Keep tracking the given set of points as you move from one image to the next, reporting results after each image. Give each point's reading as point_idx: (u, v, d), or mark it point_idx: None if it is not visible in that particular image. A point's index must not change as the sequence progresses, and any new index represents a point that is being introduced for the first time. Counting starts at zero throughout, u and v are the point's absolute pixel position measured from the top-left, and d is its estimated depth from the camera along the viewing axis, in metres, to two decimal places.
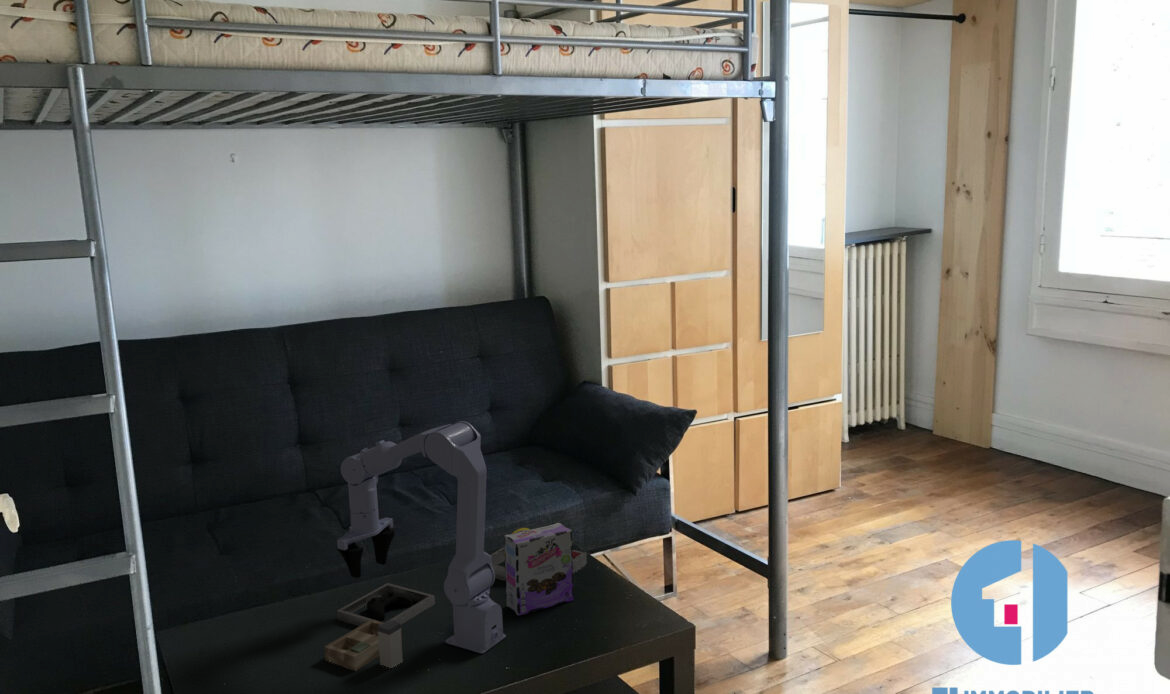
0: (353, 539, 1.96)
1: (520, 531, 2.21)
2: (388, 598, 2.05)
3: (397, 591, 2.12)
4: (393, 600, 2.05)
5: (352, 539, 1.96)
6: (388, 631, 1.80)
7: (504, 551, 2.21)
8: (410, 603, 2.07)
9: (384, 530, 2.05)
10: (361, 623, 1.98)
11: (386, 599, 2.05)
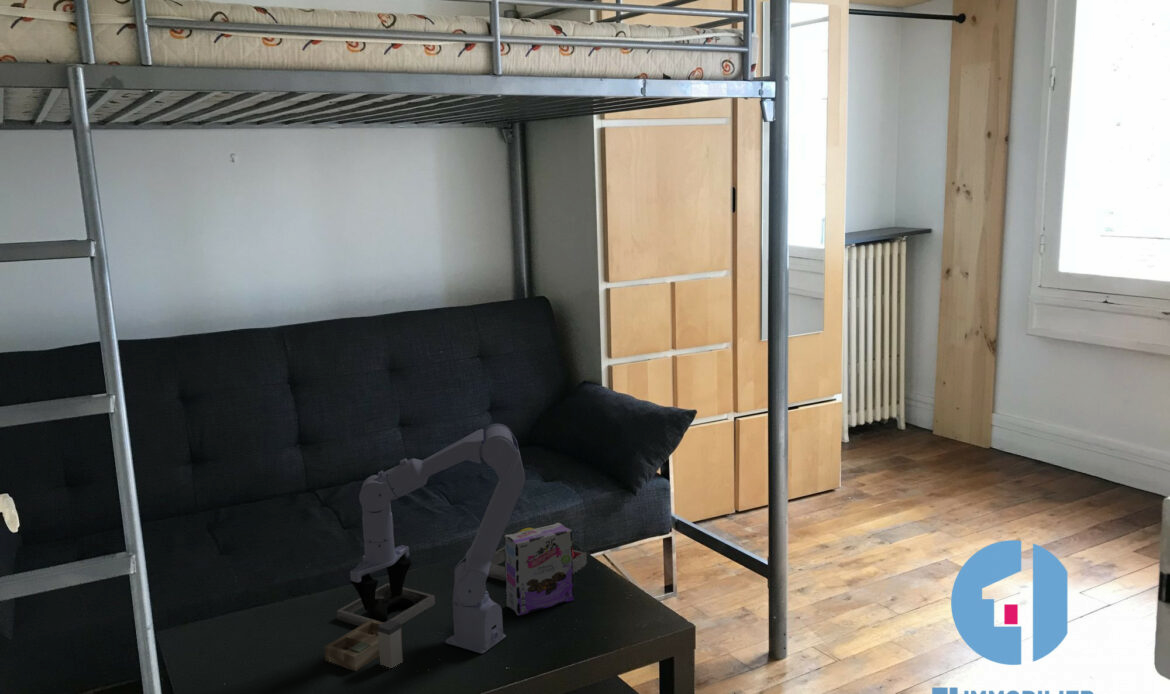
0: (367, 570, 1.82)
1: None
2: (391, 599, 2.05)
3: None
4: (396, 601, 2.05)
5: (366, 570, 1.81)
6: (388, 631, 1.80)
7: None
8: (413, 604, 2.06)
9: (400, 559, 1.90)
10: (361, 623, 1.98)
11: (389, 600, 2.04)
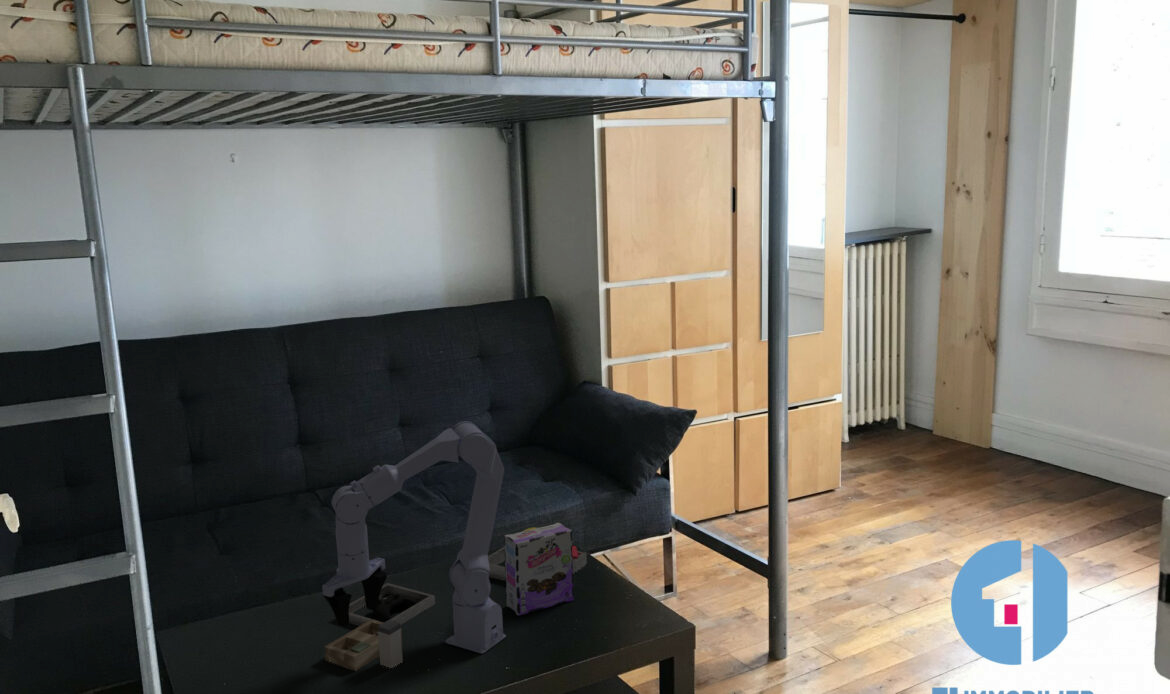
0: (340, 584, 1.76)
1: None
2: (393, 600, 2.04)
3: (397, 591, 2.12)
4: (399, 602, 2.04)
5: (339, 584, 1.76)
6: (388, 631, 1.80)
7: None
8: None
9: (375, 572, 1.84)
10: (361, 623, 1.98)
11: (392, 601, 2.04)
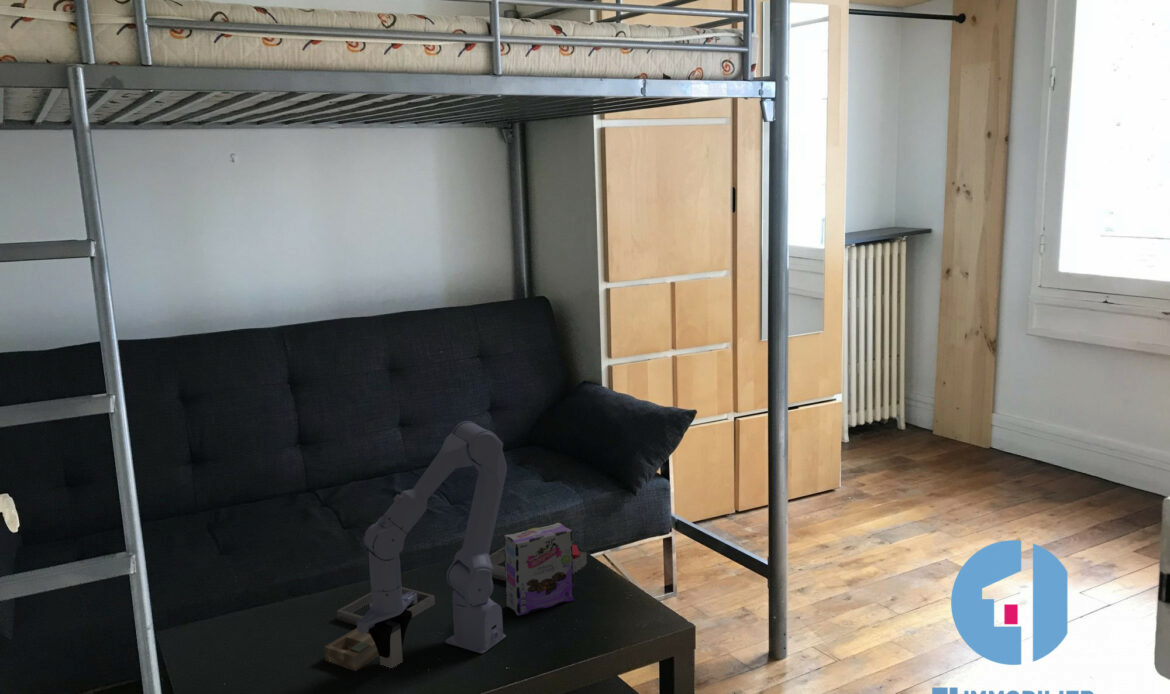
0: (374, 621, 1.76)
1: None
2: None
3: None
4: None
5: (373, 621, 1.76)
6: None
7: None
8: None
9: None
10: None
11: None
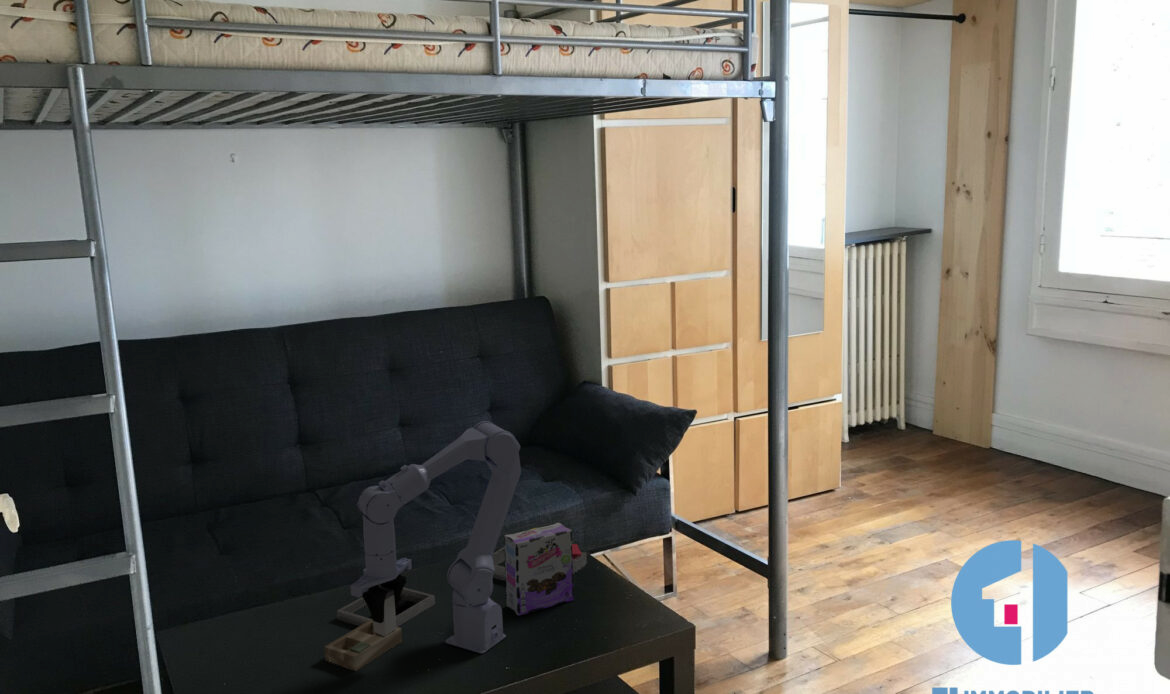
0: (368, 585, 1.75)
1: None
2: None
3: None
4: (401, 604, 2.03)
5: (367, 585, 1.75)
6: None
7: None
8: None
9: None
10: (361, 623, 1.98)
11: None
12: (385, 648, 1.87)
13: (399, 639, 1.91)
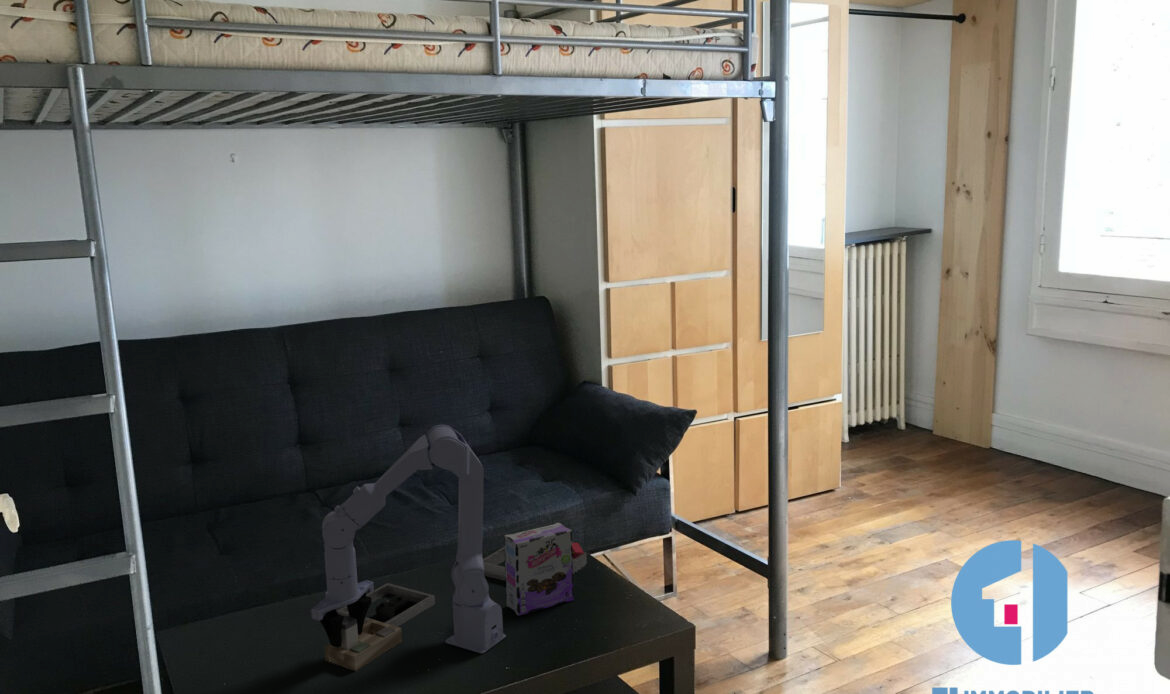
0: (329, 608, 1.78)
1: None
2: (397, 602, 2.03)
3: (397, 591, 2.12)
4: (402, 604, 2.03)
5: (328, 608, 1.78)
6: (344, 626, 1.82)
7: None
8: None
9: (364, 595, 1.87)
10: None
11: (395, 603, 2.03)
12: (385, 648, 1.87)
13: (399, 639, 1.91)
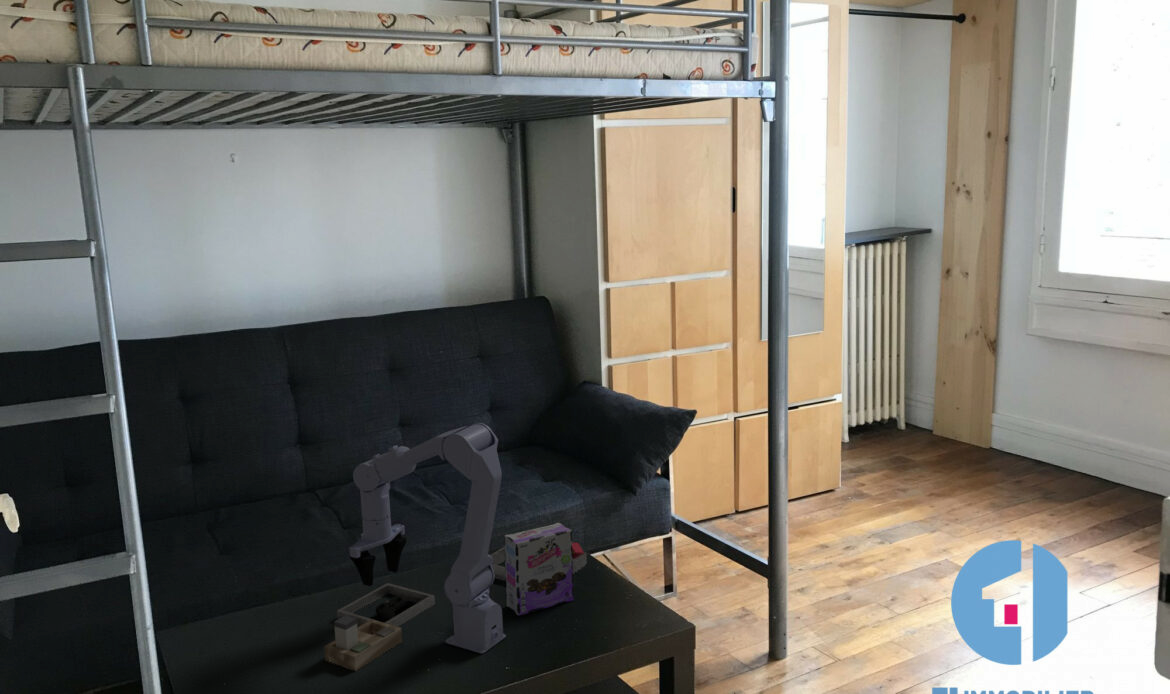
0: (366, 547, 1.93)
1: None
2: (397, 602, 2.03)
3: (397, 591, 2.12)
4: (402, 605, 2.03)
5: (365, 547, 1.93)
6: (344, 626, 1.82)
7: None
8: None
9: (396, 537, 2.02)
10: (361, 623, 1.98)
11: (395, 604, 2.02)
12: (385, 648, 1.87)
13: (399, 639, 1.91)
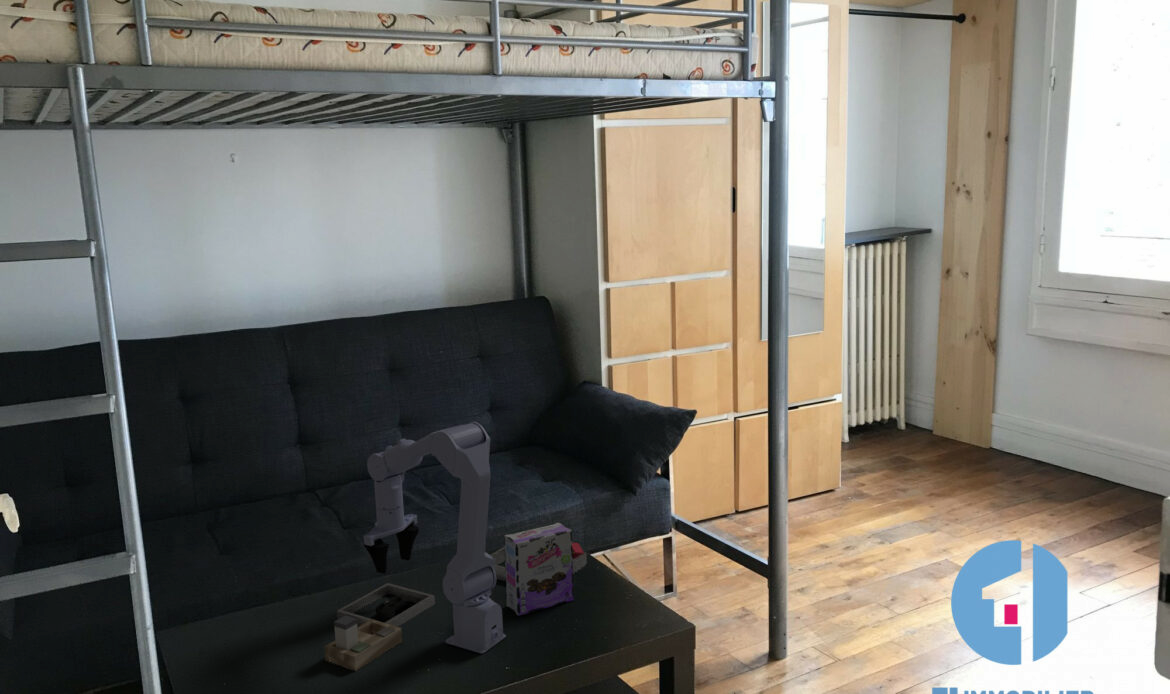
0: (379, 535, 1.99)
1: None
2: (397, 602, 2.03)
3: (397, 591, 2.12)
4: (402, 605, 2.03)
5: (378, 535, 1.99)
6: (344, 626, 1.82)
7: None
8: None
9: (409, 526, 2.08)
10: (361, 623, 1.98)
11: (395, 604, 2.02)
12: (385, 648, 1.87)
13: (399, 639, 1.91)
